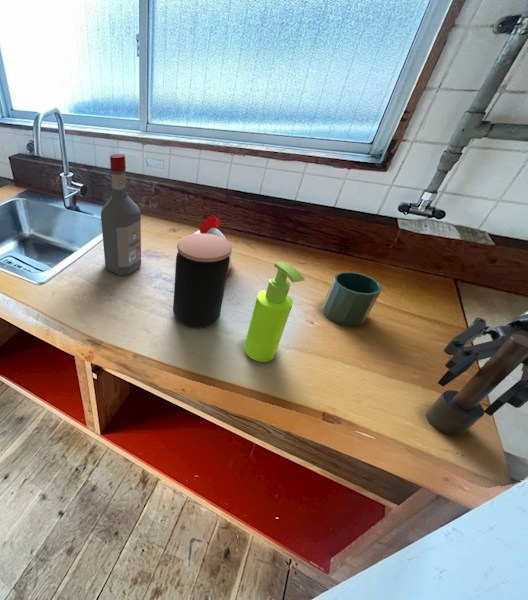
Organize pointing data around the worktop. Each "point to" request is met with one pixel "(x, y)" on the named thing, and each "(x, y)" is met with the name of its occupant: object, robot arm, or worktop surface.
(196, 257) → the coffee jar
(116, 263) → the liquor
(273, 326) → the soap dispenser
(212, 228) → the kitchen timer
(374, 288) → the teal faceted cup
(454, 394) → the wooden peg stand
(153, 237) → the worktop surface
